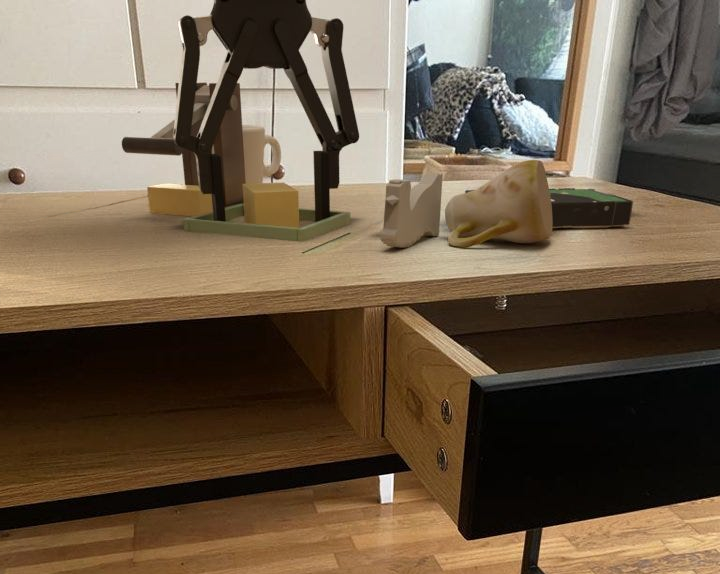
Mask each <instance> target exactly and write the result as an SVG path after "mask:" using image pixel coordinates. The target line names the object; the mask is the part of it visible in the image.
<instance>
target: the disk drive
mask: <svg viewBox="0 0 720 574" xmlns="http://www.w3.org/2000/svg"><path fill="white" fill-rule="evenodd" d="M474 190H475V189H466V190H465V191H464V193H467V192H471V191H474ZM549 192H550V198H551V204H552V219H553V226H552V227H553V228H552V229H559V228H560V229H561V228H565V229H566V228H571V229H606V228H611V227H624V225H626V226H627V225H629V226H630V223H631V218H632V213H633V205H634V200H632V199H629V198H628V199H627V198H624V197H622V196H618V195H616V194H612V193H605V192H602V191H597V190H596V189H595V188H587V189H586V188H575V187H572V188H571V187H570V188H569V187H568V188H567V187H565V188H559V187H558V188H549Z"/></svg>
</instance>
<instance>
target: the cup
mask: <svg viewBox="0 0 720 574" xmlns="http://www.w3.org/2000/svg"><path fill="white" fill-rule="evenodd" d="M242 130H243V146H244V163H245V180H246V184H252V183H263V179H264V177H268V176H272V175H273V174H275V173H277V171H278V170H279V168H280V165H281V160H282V150H281V145H280V142H279V141H278V139H277V138H276V137H274V136H272V135H269V134H266V129H265V127H264V126H262V125H255V124H242ZM268 144H269V146H270V148H271V153H272V157H271V158H272V159H271V163H270V165H269V166H268V167H266V165H265V162H264V159H265V158H264V156H265V147H266V145H268ZM212 154H214V144H213V147H212Z"/></svg>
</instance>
